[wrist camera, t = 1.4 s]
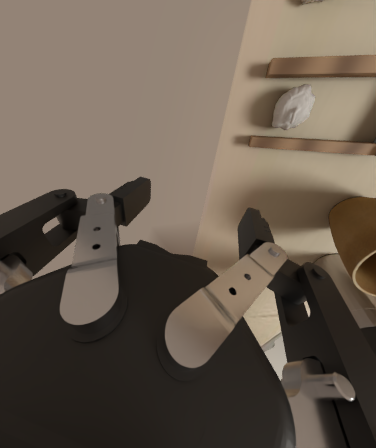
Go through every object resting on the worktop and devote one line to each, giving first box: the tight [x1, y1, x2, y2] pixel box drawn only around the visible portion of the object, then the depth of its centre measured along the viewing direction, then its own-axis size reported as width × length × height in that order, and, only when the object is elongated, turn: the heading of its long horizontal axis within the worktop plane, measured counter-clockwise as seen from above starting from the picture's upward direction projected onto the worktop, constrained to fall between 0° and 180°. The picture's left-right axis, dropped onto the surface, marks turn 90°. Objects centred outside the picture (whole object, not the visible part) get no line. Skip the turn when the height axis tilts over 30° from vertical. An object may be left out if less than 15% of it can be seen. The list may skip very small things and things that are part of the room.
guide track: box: [249, 55, 376, 156], centre depth 22 cm, size 22×11×4 cm, turn 89°
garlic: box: [272, 84, 315, 130], centre depth 23 cm, size 6×5×5 cm
